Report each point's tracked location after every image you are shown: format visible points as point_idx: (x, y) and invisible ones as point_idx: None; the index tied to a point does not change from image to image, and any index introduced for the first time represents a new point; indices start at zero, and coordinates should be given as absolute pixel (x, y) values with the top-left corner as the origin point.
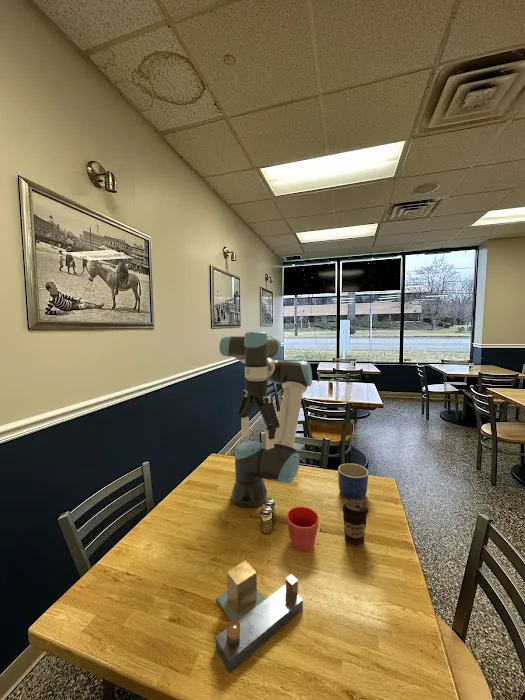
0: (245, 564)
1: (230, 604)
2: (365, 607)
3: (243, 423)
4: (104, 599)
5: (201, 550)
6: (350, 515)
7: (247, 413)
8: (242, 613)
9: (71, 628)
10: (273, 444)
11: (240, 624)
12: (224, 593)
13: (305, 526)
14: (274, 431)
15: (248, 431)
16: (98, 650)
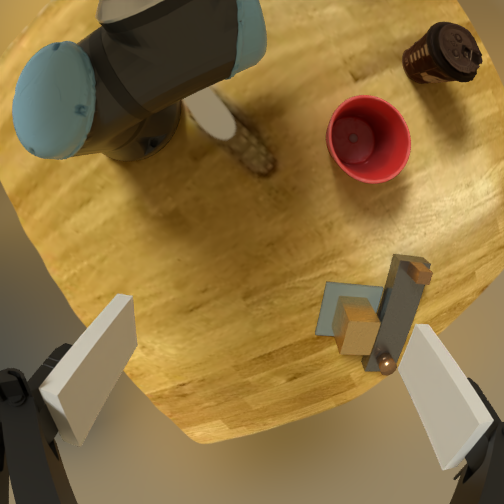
0: (355, 326)
1: None
2: (480, 191)
3: (97, 408)
4: (205, 410)
5: (211, 299)
6: (461, 80)
7: (48, 447)
8: None
9: (219, 432)
10: (435, 339)
11: (380, 345)
12: (319, 323)
13: (346, 112)
14: (495, 416)
15: (121, 316)
16: (263, 426)
